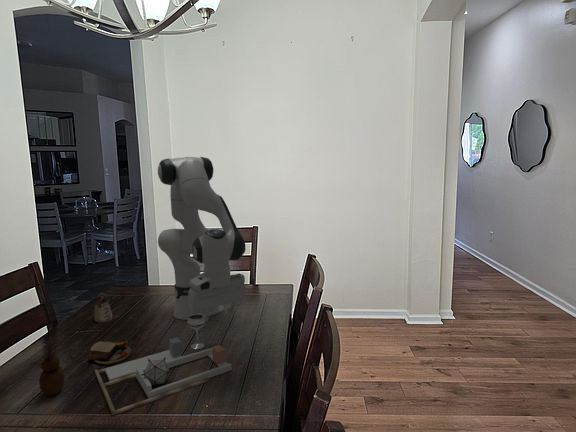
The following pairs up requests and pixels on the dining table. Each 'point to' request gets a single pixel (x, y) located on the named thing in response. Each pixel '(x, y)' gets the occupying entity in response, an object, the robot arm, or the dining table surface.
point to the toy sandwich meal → (109, 352)
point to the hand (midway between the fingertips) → (218, 317)
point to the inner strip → (144, 361)
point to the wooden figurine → (51, 375)
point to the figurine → (102, 309)
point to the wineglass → (196, 326)
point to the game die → (157, 371)
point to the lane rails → (140, 401)
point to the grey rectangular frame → (213, 353)
